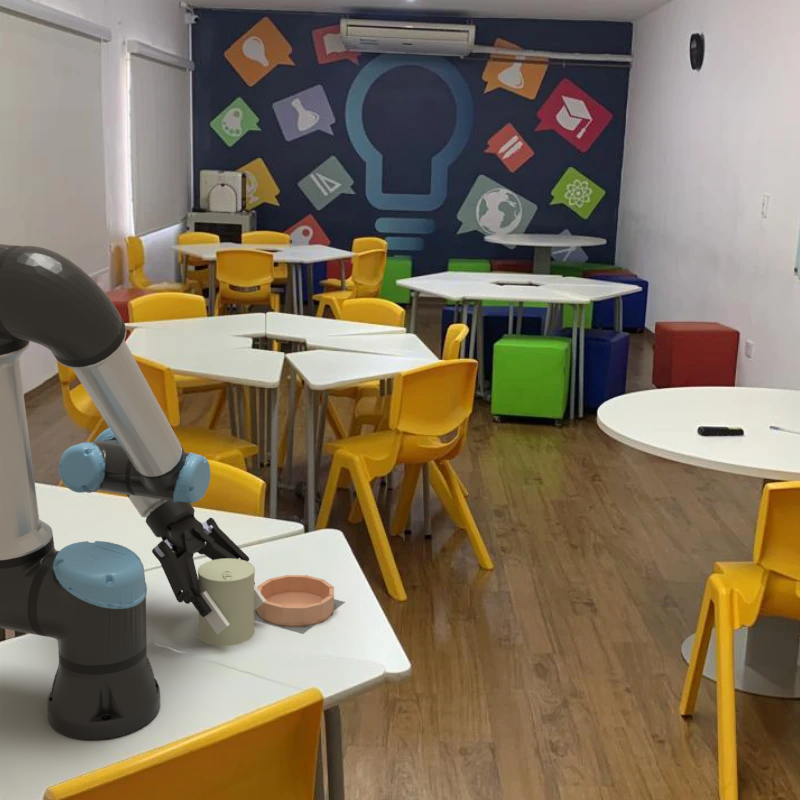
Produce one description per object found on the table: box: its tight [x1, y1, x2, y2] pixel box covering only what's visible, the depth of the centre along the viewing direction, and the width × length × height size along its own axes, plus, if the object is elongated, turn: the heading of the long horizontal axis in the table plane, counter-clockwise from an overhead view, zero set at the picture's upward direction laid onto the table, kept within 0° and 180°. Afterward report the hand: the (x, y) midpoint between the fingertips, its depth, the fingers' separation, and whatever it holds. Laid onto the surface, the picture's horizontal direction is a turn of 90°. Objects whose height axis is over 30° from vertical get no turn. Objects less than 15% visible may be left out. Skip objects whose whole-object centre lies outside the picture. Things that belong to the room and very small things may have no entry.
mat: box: [254, 598, 346, 635], centre depth 169 cm, size 14×12×1 cm
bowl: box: [256, 574, 335, 627], centre depth 169 cm, size 13×13×3 cm
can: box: [197, 558, 256, 647], centre depth 159 cm, size 9×9×12 cm
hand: (242, 617), depth 158 cm, fingers open, 9 cm apart
